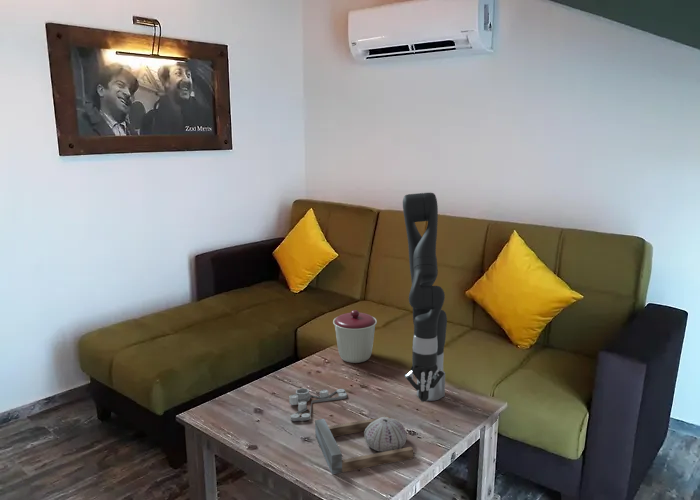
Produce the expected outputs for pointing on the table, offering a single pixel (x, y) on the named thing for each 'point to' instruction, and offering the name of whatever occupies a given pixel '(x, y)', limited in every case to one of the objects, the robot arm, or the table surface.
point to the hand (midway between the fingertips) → (423, 400)
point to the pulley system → (304, 396)
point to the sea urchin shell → (385, 434)
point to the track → (338, 465)
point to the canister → (355, 336)
